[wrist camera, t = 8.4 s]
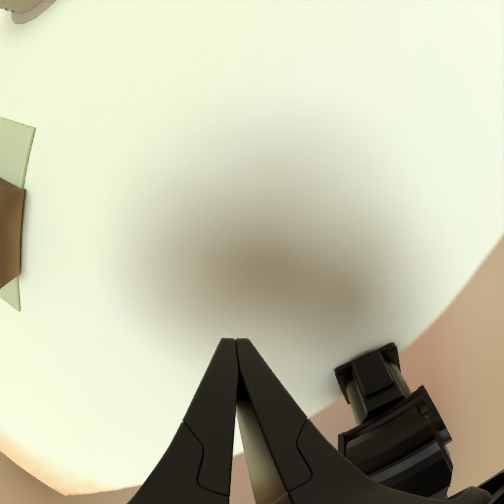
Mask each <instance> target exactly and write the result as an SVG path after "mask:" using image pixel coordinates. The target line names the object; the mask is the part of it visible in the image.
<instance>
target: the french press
mask: <svg viewBox="0 0 504 504" xmlns="http://www.w3.org/2000/svg"><path fill="white" fill-rule="evenodd" d="M54 1H55V0H0V6H1V7H0V8H1V9H5V10H7V11H12V19H13V20H14V22H15V23H18V24H24V23H26V22H28V21H30V20H32V19H34V18H36V17H37V16H38V15H39V14H41V13H42V12H43V11H44V10H46V9H47V8H48V7H49V6H50V5H51V4H52V3H53V2H54Z"/></svg>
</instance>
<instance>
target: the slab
mask: <svg viewBox="0 0 504 504" xmlns="http://www.w3.org/2000/svg"><path fill="white" fill-rule="evenodd" d="M24 191H25V190H23V189H21V188H19V187H17V186H15V185H13V184H12V183H10V182H8V181H6V180H4V179H2V178H0V289H1V288H2V287H4V286H5V285H6V284H7V283H9V282H10V281H11V280H13V279H14V278H16V277H17V276H18V275H20V231H21V218H22V208H23V199H24Z"/></svg>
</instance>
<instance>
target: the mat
mask: <svg viewBox="0 0 504 504" xmlns="http://www.w3.org/2000/svg"><path fill="white" fill-rule="evenodd" d="M35 129H36V128H34V127H31V126H28V125H24V124H21V123H18V122H15V121H11V120H8V119H5V118H1V117H0V178H2V179H4V180H6V181H8V182H10V183H12V184H13V185H15V186H17V187H19V188H21V189H23V186H24V180H25V174H26V168H27V163H28V158H29V153H30V149H31V145H32V140H33V136H34V133H35ZM0 298H2V299H3V300H4V301H5V302H7V303H8V304H9V305H11V306H12V307H13V308H15V309H16V310H17V311H21V310H20V299H19V282H18V276H17V277H16V278H14V279H13V280H11V281H10V282H9V283H7V284H6V285H5V286H4V287H2V288H1V289H0Z"/></svg>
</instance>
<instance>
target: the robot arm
mask: <svg viewBox="0 0 504 504" xmlns="http://www.w3.org/2000/svg"><path fill="white" fill-rule="evenodd" d="M391 348H392V349H391ZM334 373H335V376H336V378H337V381H338V383H339V385H340V387H341V390H342V392H343V394H344V397H345V399H346V401H347V403H348V404H351V408H352V411H353V414H354V417H355V420H356V424H357V427H355V428H353V429H351V430H349V431H347V432H345V433H344V432H343V433H341V434H339V435H338V450H337V449H336V448H334V447H333V446H332V445H331V444H330V443H329V442H328V441H327V440H326V439H325V437H324V436H323V435H322V434H321V433H320V432H319V431H318V429H317V428H316V427H315V426H314V425H313V423H312V422H311V421H310V419H307V416H306V415H305V413H304V412H303V411H302V410H301V408H300V407H299V406H298V404H297V403H296V402H295V401H294V399H293V398H292V397H291V395H290V394H289V393H288V391H287V390H286V389H285V388H284V386H283V385H282V384H281V382H280V381H279V380H278V378H277V377H276V376H275V374H274V373H273V372H272V370H271V369H270V368H269V366H268V365H267V363H266V362H265V361H264V359H263V358H262V357H261V355H260V354H259V352H258V351H257V350H256V348H255V347H254V346H253V344H252V343H251V341H250V340H249V339H247V338H237V339H235V340H234V339H233V338H222V339H221V340H220V342H219V344H218V346H217V349H216V351H215V353H214V355H213V357H212V359H211V361H210V363H209V366H208V368H207V370H206V372H205V374H204V376H203V378H202V380H201V382H200V385H199V387H198V389H197V391H196V393H195V395H194V397H193V399H192V401H191V403H190V406H189V408H188V410H187V412H186V414H185V416H184V418H183V420H182V421H183V422H182V423H181V424H180V426H179V428H178V430H177V432H176V434H175V436H174V438H173V440H172V442H171V444H170V445H169V447H168V449H167V450H166V452H165V453H164V455H163V457H162V458H161V460H160V461H159V463H158V464H157V465H156V467H155V468H154V470H153V471H152V472H151V474H150V475H149V476H148V478H147V479H146V481H145V482H144V483H143V485H142V486H141V488H140V489H139V490H138V491H137V493H136V494H135V495H134V496H133V497H132V499H131V500H130V501H129V502H128V503H127V504H229V497H230V484H231V471H232V457H233V443H234V429H235V416H236V413H237V418H238V423H239V429H240V434H241V439H242V444H243V448H244V453H245V458H246V463H247V467H248V472H249V476H250V481H251V485H252V489H253V494H254V498H255V502H256V504H504V469H503V470H502V471H500V472H499V473H497V474H496V475H494V476H493V477H491V478H490V479H488V480H486V481H485V482H483V483H482V484H480V485H479V486H477V487H474V486H471V487H468V488H466V489H464V490H462V491H461V492H459V493H457V494H455V495H453V496H451V497H449V498H448V496H447V491H448V488H449V487H450V483H451V477H452V470H453V465H452V461H451V458H450V454H449V452H448V450H447V447H446V444H448V443H450V442H451V441H452V438H451V436H450V434H449V432H448V430H447V428H446V426H445V424H444V422H443V420H442V418H441V417H440V415H439V413H438V411H437V409H436V407H435V405H434V403H433V402H432V400H431V398H430V396H429V395H428V393H427V391H426V389H425V388H424V386H423V385H422V386H420V387H419V388H418V389H417V390H416V391H415V392H413V393H411V392H410V390H409V388H408V386H407V384H406V382H405V380H404V378H403V376H402V375H401V370H400V364H399V357H398V351H397V347H396V345H395V344H394V343H391V344H389V345H387V346H385V347H383V348H381V349H379V350H377V351H375V352H373V353H370V354H368V355H366V356H364V357H362V358H360V359H357V360H355V361H353V362H350V363H348V364H346V365H343V366H341V367H339V368H337V369H336V370H335V371H334ZM306 419H307V420H306Z"/></svg>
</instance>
